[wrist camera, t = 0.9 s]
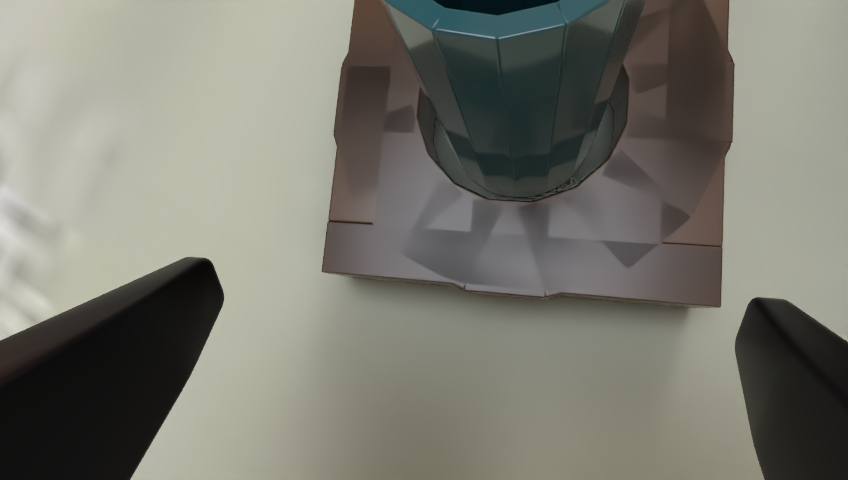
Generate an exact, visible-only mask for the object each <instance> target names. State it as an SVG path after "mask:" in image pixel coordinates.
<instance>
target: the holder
mask: <svg viewBox="0 0 848 480" xmlns="http://www.w3.org/2000/svg"><path fill="white" fill-rule="evenodd" d="M728 19H729V0H646V2H645V5H644V8H643V10H642V13H641V16H640V18H639V21H638V24H637V26H636V29H635V32H634V34H633V37H632V40H631V42H630V45H629V48H628V50H627V53H626V56H625V58H624V61H623V64H622V66H621V69H620V72H619V74H618V77H617V80H616V82H615V85H614V88H613V90H612V93H611V96H610V98H609V101H610V104H611V106H612V109H613V111H614V128H613V147H612V151H611V152H610V154H609V156H608V158H607V160H606V161H605V162H604V163H602V164H601V165H600V166H599V167H598V168H596V169H595V170H594V171H593V172H592V173H591V174H589V175H588V176H587V177H586V178H585V179H583V180H582V181H581V182H580V183H579V184H578V185H576V186H575V187H574V188H571V189H568V190H565V191H562V192H559V193H556V194H553V195H550V196H547V197H545V198H542V199H539V200H536V201H514V200H494V199H488V198H486V197H484V196H482V195H480V194H478V193H476V192H473V191H471V190H469V189H467V188H465V187H463V186H461V185H459V184H456V183H454V181H453V180H452V179H451V178H450V177H449V176H448V175H447V173H446V172H445V171H444V170H443V169H442V168H441V167H440V164H439V161H438V158H437V155H436V152H435V149H434V146H433V137H434V126H435V115H434V113H433V111H432V109H431V107H430V105H429V103H428V100H427V98H426V96H425V94H424V92H423V90H422V88H421V86H420V84H419V82H418V80H417V78H416V76H415V74H414V72H413V70H412V68H411V66H410V64H409V62H408V60H407V58H406V56H405V54H404V52H403V50H402V48H401V46H400V44H399V42H398V39H397V37H396V35H395V33H394V31H393V29H392V27H391V25H390V23H389V21H388V19H387V17H386V15H385V13H384V11H383V9H382V7H381V5H380V3H379V1H378V0H355V2H354V10H353V19H352V27H351V35H350V44H349V52H348V54H347V56H346V58H345V59H344V61H343V63H342V67H341V75H340V83H339V92H338V100H337V108H336V116H335V125H334V138H335V141H336V145H337V152H336V160H335V169H334V177H333V185H332V194H331V202H330V210H329V222H328V224H327V232H326V240H325V249H324V257H323V265H322V272H325V273H330V274H336V275H341V276H347V277H354V278H365V279H376V280H388V281H399V282H410V283H421V284H432V285H443V286H454V287H458V288H460V289H462V290H465V291H467V292H471V293H474V294H484V295H495V296H506V297H517V298H528V299H538V300H543V299H548V298H551V297H555V296H565V297H576V298H587V299H598V300H609V301H621V302H632V303H643V304H654V305H665V306H676V307H687V308H710V307H721V281H722V241H723V204H724V167H725V156H726V154H727V152H728V150H729V148H730V146H731V143H732V139H733V99H734V63H733V59H732V57H731V55H730V53H729V51H728Z"/></svg>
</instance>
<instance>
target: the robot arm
mask: <svg viewBox="0 0 848 480" xmlns="http://www.w3.org/2000/svg"><path fill="white" fill-rule="evenodd" d="M223 302H224V293H223V289H222V287H221V284H220V281H219V279H218V276H217V274H216V271H215V268H214V266H213V264H212V262H211V261H210V260H209V259H206V258H198V257H186V258H183V259H181V260H179V261H177V262H174V263H172V264H170V265H168V266H165V267H163V268H161V269H159V270H157V271H154V272H152V273H150V274H148V275H145V276H143V277H141V278H139V279H137V280H134V281H132V282H130V283H128V284H125V285H123V286H121V287H119V288H117V289H114V290H112V291H110V292H108V293H105V294H103V295H101V296H99V297H97V298H94V299H92V300H90V301H88V302H85V303H83V304H81V305H79V306H77V307H74V308H72V309H70V310H68V311H65V312H63V313H61V314H59V315H57V316H54V317H52V318H50V319H48V320H45V321H43V322H41V323H39V324H37V325H34V326H32V327H30V328H28V329H25V330H23V331H21V332H19V333H17V334H14V335H12V336H10V337H8V338H5V339H3V340H1V341H0V480H130V479H131V477H132V475H133V474H134V472H135V470H136V469H137V467H138V465H139V463H140V462H141V460H142V458H143V457H144V455H145V453H146V451H147V450H148V448H149V446H150V445H151V443H152V441H153V439H154V438H155V436H156V434H157V432H158V431H159V429H160V427H161V426H162V424H163V422H164V420H165V419H166V417H167V415H168V414H169V412H170V410H171V408H172V407H173V405H174V403H175V402H176V400H177V398H178V396H179V395H180V393H181V391H182V390H183V388H184V386H185V384H186V382H187V381H188V379H189V377H190V375H191V373H192V371H193V369H194V367H195V365H196V363H197V361H198V358H199V356H200V354H201V352H202V350H203V347H204V345H205V343H206V341H207V339H208V337H209V334H210V332H211V330H212V328H213V326H214V323H215V321H216V319H217V317H218V315H219V312H220V310H221V308H222V305H223ZM735 353H736V358H737V364H738V369H739V374H740V379H741V384H742V389H743V394H744V399H745V404H746V409H747V414H748V419H749V424H750V429H751V434H752V438H753V443H754V447H755V450H756V454H757V457H758V460H759V464H760V467H761V470H762V473H763V476H764V479H765V480H848V342H847V341H845V340H844V339H842V338H841V337H840V336H838V335H837V334H835V333H834V332H832V331H831V330H829V329H828V328H827V327H825V326H824V325H822V324H821V323H819V322H818V321H816V320H815V319H813V318H812V317H811V316H809V315H808V314H806V313H805V312H803V311H802V310H800V309H799V308H797V307H796V306H795V305H793V304H792V303H790V302H788V301H787V300H784V299H775V298H761V297H757V298H754V299H752V300H751V301H750V303H749V304H748V307H747V309H746V312H745V315H744V317H743V320H742V323H741V326H740V328H739V331H738V334H737V337H736V341H735Z"/></svg>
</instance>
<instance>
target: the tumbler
mask: <svg viewBox="0 0 848 480" xmlns="http://www.w3.org/2000/svg"><path fill="white" fill-rule="evenodd" d="M378 1H379V3H380V5H381V7H382V9H383V11H384V13H385V15H386V17H387V19H388V21H389V23H390V25H391V27H392V29H393V31H394V33H395V35H396V37H397V39H398V42H399V44H400V46H401V48H402V50H403V52H404V54H405V56H406V58H407V60H408V62H409V64H410V66H411V68H412V70H413V72H414V74H415V76H416V78H417V80H418V82H419V84H420V86H421V88H422V90H423V92H424V94H425V96H426V98H427V100H428V103H429V105H430V107H431V109H432V111H433V113H434V115H435V117H436V119H437V121H438V123H439V125H440V127H441V129H442V131H443V133H444V135H445V137H446V139H447V141H448V143H449V145H450V147H451V149H452V151H453V153H454V154H455V156H456V158H457V159H458V161H459V163H460V165H461V167H462V168H463V170H464V171H465V173H466V174H467V175H468V176H469V177H470V178H471V179H472V180H473V181H474V182H476V183H477V184H478V185H480V186H481V187H483V188H485V189H486V190H489V191H491V192H493V193H496V194H499V195H503V196H509V197H530V196H535V195H540V194H543V193H545V192H548V191H550V190H552V189H554V188H556V187H558V186H560V185H561V184H563V183H564V182H566V181H567V180H568V179H569V178H570V177H571V176H572V175H573V174H574V173H575V172H576V171H577V170H578V169H579V167H580V166H581V164H582V163H583V161H584V160H585V158H586V156H587V154H588V153H589V151H590V149H591V146H592V144H593V141H594V138H595V136H596V133H597V130H598V128H599V125H600V122H601V120H602V117H603V114H604V112H605V109H606V106H607V104H608V101H609V98H610V96H611V93H612V90H613V88H614V85H615V82H616V80H617V77H618V74H619V72H620V69H621V66H622V64H623V61H624V58H625V56H626V53H627V50H628V48H629V45H630V42H631V40H632V37H633V34H634V32H635V29H636V26H637V24H638V21H639V18H640V16H641V13H642V10H643V8H644V5H645V2H646V0H378Z"/></svg>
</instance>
